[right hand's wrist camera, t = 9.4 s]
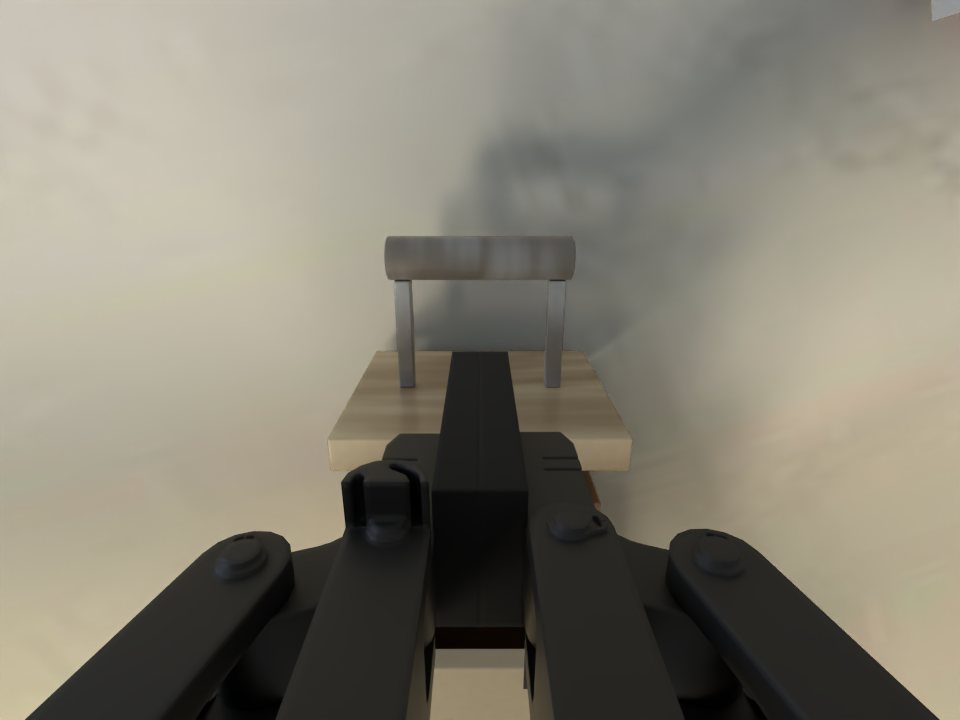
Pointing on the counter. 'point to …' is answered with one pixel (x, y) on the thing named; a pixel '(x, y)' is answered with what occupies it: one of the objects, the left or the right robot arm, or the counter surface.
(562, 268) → the drawer
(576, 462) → the right robot arm
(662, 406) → the counter surface
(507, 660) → the cabinet
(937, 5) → the toy
